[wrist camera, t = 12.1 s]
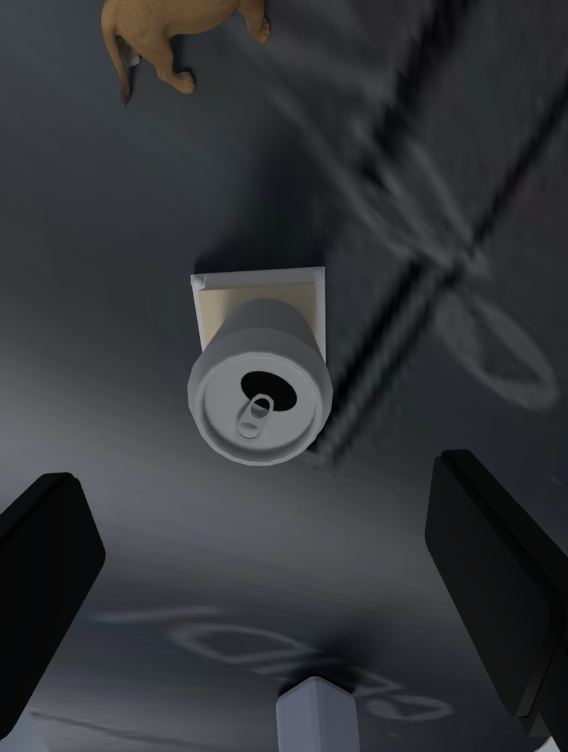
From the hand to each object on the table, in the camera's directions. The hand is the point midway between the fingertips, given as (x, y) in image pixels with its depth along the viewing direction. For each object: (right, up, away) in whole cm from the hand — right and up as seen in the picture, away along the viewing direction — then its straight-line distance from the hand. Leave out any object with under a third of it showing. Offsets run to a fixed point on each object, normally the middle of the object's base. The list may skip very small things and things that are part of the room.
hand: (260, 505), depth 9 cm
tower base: (-1, +7, +21) cm, 22 cm away
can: (-1, +6, +18) cm, 19 cm away
